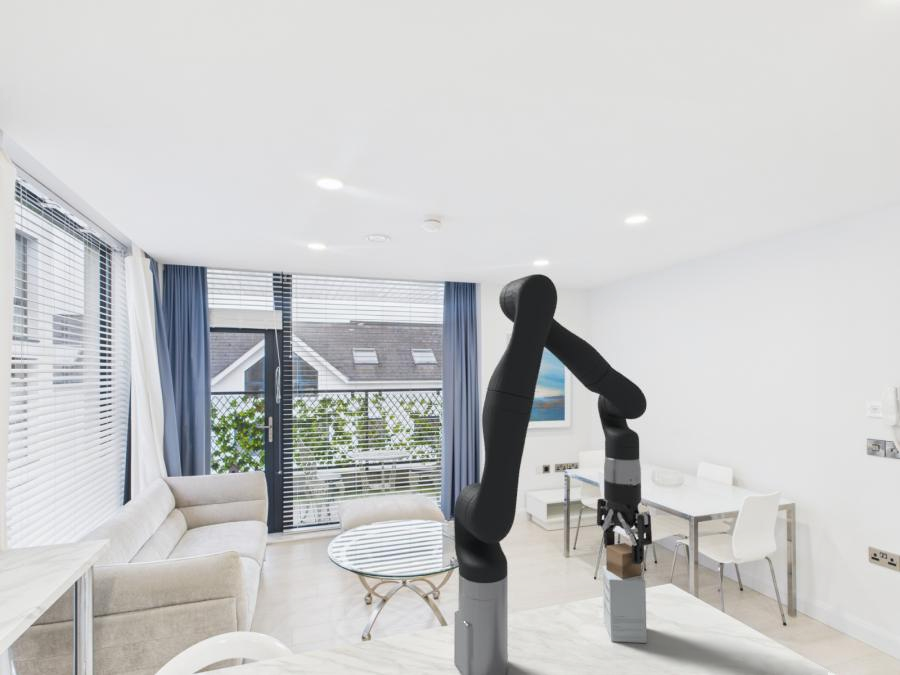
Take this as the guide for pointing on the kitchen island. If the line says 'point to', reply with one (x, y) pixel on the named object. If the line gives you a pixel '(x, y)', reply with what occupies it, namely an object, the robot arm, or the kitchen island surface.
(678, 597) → the kitchen island surface
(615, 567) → the walnut cube
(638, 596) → the supplement box
